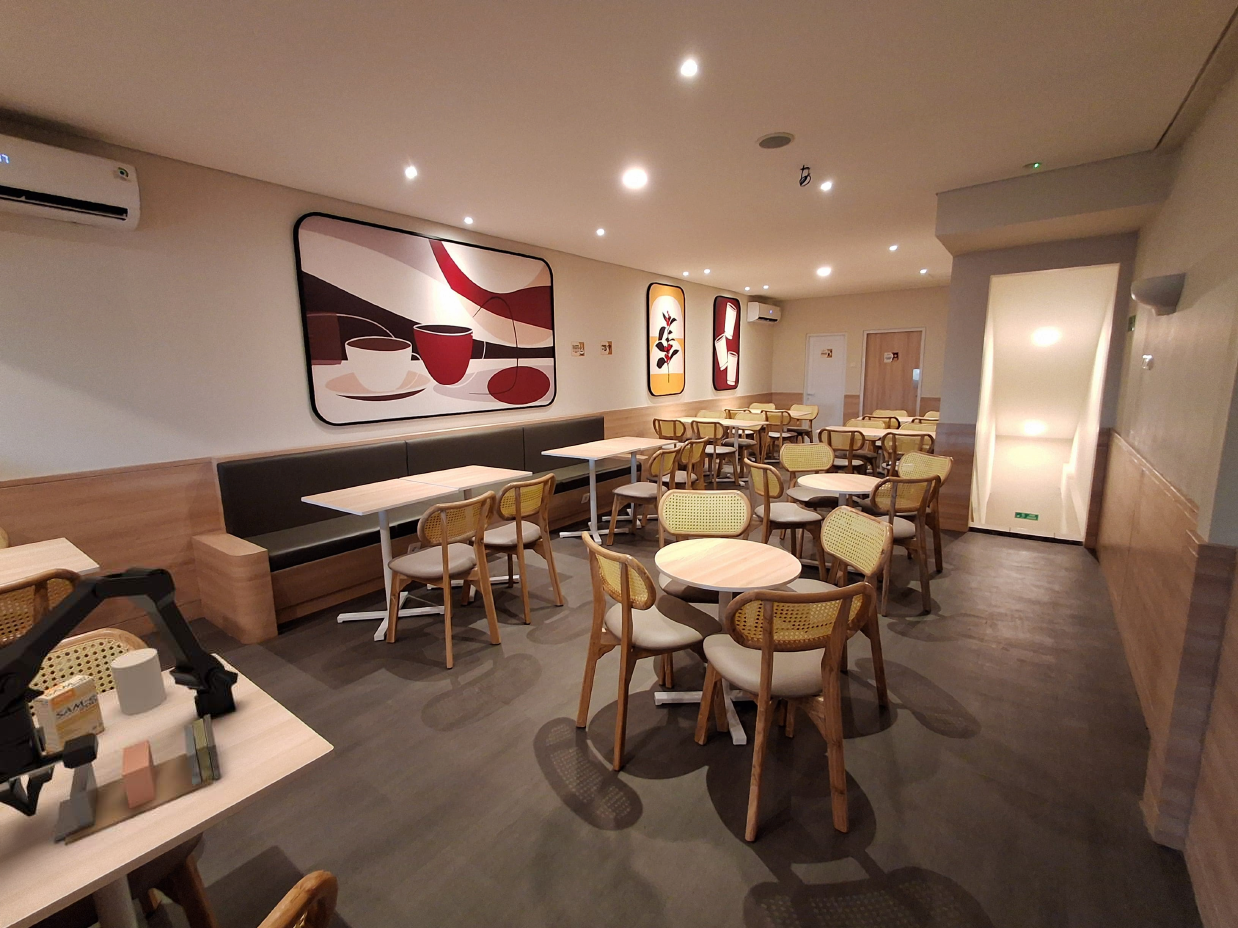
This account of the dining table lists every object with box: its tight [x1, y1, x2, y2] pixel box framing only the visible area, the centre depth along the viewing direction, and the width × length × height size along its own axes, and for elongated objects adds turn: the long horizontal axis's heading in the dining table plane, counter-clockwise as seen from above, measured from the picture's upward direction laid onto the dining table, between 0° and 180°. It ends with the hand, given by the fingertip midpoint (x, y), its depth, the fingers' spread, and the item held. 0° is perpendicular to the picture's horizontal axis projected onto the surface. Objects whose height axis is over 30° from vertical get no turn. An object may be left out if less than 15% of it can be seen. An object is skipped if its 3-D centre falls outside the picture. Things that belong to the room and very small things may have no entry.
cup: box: [110, 647, 167, 716], centre depth 127 cm, size 8×8×12 cm
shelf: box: [64, 714, 222, 846], centre depth 102 cm, size 22×13×8 cm, turn 130°
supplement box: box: [32, 674, 106, 754], centre depth 115 cm, size 8×5×13 cm, turn 168°
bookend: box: [52, 762, 99, 842], centre depth 96 cm, size 5×10×7 cm, turn 40°
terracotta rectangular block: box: [121, 739, 156, 809], centre depth 102 cm, size 4×9×7 cm, turn 41°
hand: (32, 814), depth 93 cm, fingers closed
